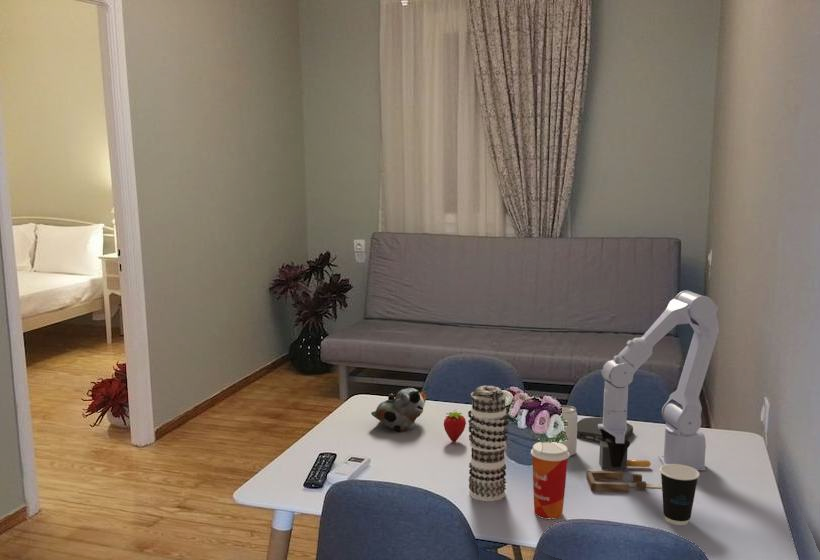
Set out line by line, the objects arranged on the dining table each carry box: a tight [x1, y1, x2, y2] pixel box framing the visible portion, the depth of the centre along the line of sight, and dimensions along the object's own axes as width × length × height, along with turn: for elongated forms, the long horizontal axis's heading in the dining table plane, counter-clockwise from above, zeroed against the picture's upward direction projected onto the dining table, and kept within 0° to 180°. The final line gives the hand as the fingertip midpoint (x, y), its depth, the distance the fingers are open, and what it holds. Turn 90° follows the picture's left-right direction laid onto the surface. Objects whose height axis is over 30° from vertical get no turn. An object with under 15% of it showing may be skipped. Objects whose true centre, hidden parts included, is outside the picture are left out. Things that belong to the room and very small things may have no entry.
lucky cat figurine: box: [370, 387, 427, 433], centre depth 214 cm, size 15×12×14 cm
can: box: [559, 404, 578, 457], centre depth 194 cm, size 6×6×12 cm
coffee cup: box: [530, 441, 571, 520], centre depth 158 cm, size 8×8×15 cm
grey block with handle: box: [598, 441, 652, 472], centre depth 184 cm, size 12×4×6 cm, turn 86°
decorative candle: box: [467, 385, 510, 502], centre depth 168 cm, size 9×9×25 cm
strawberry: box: [443, 410, 467, 443], centre depth 201 cm, size 6×8×10 cm
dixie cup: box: [659, 464, 701, 526], centre depth 156 cm, size 8×8×11 cm
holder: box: [585, 470, 662, 493], centre depth 174 cm, size 17×8×2 cm, turn 86°
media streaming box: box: [577, 416, 634, 444], centre depth 208 cm, size 15×15×3 cm
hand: (612, 460), depth 185 cm, fingers open, 7 cm apart
